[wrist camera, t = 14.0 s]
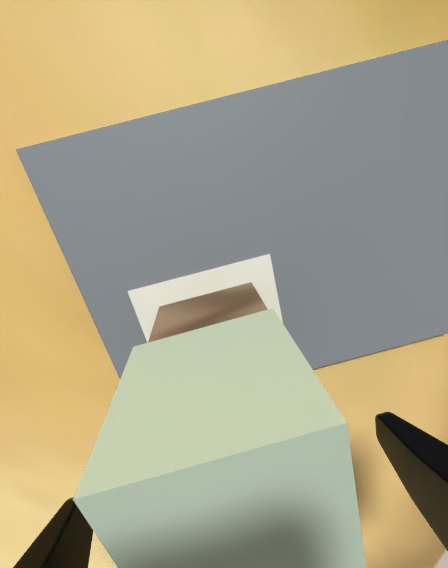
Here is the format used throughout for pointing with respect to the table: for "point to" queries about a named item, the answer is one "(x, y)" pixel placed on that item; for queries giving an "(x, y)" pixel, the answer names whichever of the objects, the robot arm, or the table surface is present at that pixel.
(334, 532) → the sage block
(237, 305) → the walnut block
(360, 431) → the table surface
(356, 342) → the baseplate
